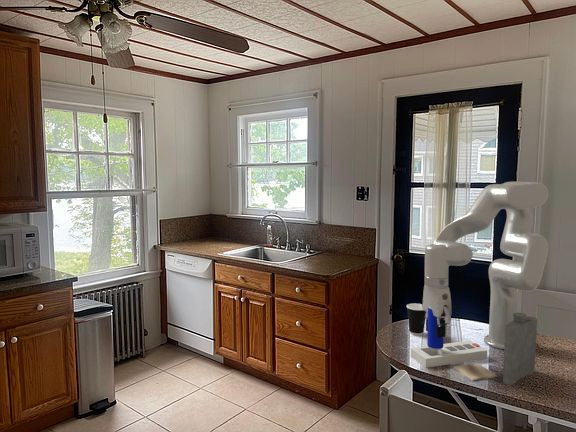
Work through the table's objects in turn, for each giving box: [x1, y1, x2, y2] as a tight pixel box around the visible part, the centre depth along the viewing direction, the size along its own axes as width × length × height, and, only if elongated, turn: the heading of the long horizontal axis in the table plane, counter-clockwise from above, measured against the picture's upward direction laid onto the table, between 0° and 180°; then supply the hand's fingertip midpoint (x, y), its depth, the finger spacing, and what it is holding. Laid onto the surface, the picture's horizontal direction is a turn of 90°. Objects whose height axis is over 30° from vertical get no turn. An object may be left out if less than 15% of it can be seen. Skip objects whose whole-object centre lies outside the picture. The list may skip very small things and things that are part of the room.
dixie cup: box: [406, 303, 426, 337], centre depth 174 cm, size 8×8×11 cm
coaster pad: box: [453, 362, 498, 382], centre depth 141 cm, size 9×9×1 cm
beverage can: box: [426, 306, 445, 350], centre depth 149 cm, size 5×5×15 cm
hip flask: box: [502, 312, 538, 386], centre depth 137 cm, size 16×4×20 cm, turn 127°
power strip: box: [410, 340, 488, 369], centre depth 152 cm, size 24×9×4 cm, turn 106°
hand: (435, 333), depth 149 cm, fingers closed on beverage can, 5 cm apart
